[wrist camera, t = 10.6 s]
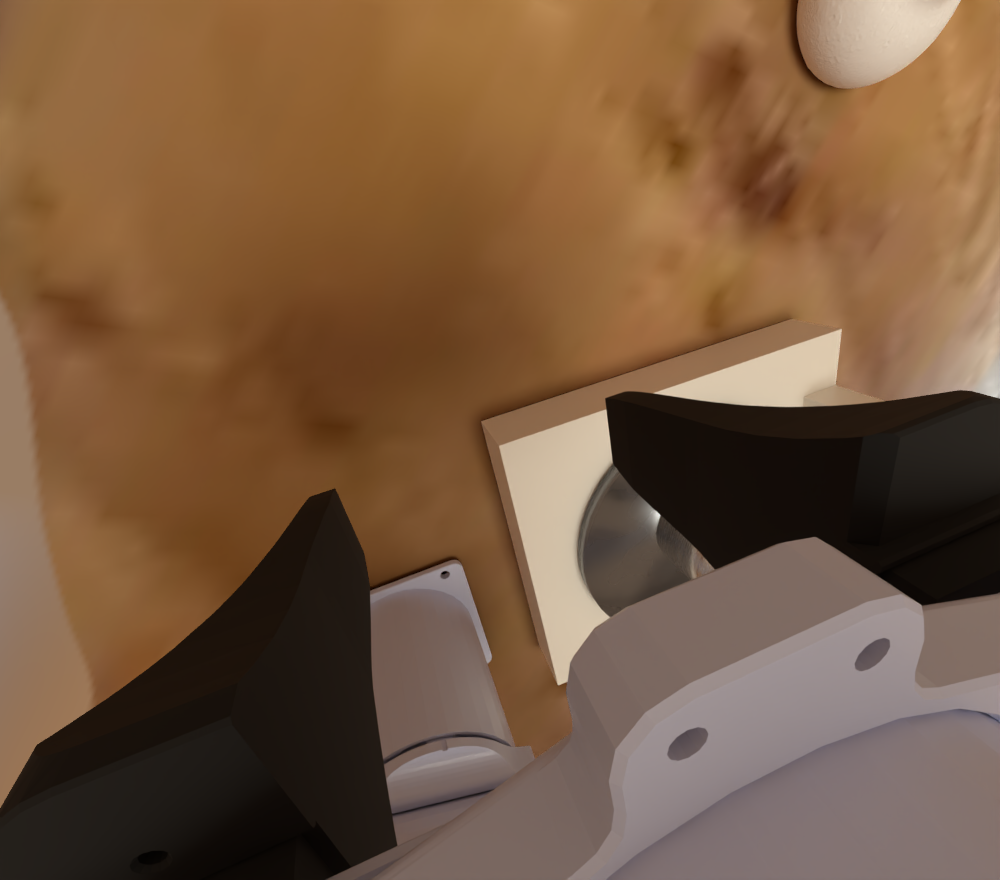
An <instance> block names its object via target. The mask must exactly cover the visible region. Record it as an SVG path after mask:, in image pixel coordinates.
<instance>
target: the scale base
mask: <svg viewBox="0 0 1000 880" xmlns="http://www.w3.org/2000/svg"><path fill="white" fill-rule="evenodd" d="M841 331H842V329H840V328H835V327H830V326H825V325H820V324H815V323H810V322H805V321H800V320H795V319H790V320H787V321H783V322H780V323H777V324H774V325H771V326H768V327H765V328H762V329H759V330H756V331H753V332H750V333H747V334H744V335H741V336H738V337H735V338H732V339H729V340H726V341H723V342H720V343H717V344H714V345H711V346H708V347H705V348H702V349H699V350H696V351H692V352H689V353H686V354H683V355H680V356H677V357H674V358H671V359H668V360H665V361H662V362H659V363H656V364H653V365H650V366H647V367H644V368H641V369H638V370H635V371H632V372H629V373H626V374H623V375H620V376H617V377H614V378H611V379H608V380H605V381H601V382H598V383H595V384H592V385H589V386H586V387H583V388H580V389H577V390H574V391H571V392H568V393H565V394H562V395H559V396H556V397H553V398H550V399H547V400H544V401H541V402H538V403H535V404H532V405H529V406H526V407H523V408H520V409H517V410H514V411H511V412H507V413H504V414H501V415H498V416H495V417H492V418H489V419H486V420H483V421H481V424H482V427H483V431H484V435H485V439H486V443H487V447H488V451H489V454H490V458H491V462H492V466H493V470H494V474H495V478H496V481H497V485H498V489H499V493H500V497H501V501H502V505H503V508H504V512H505V516H506V520H507V524H508V528H509V532H510V535H511V539H512V543H513V547H514V551H515V555H516V559H517V562H518V566H519V570H520V574H521V578H522V582H523V585H524V589H525V593H526V597H527V601H528V605H529V609H530V612H531V616H532V620H533V624H534V628H535V632H536V636H537V639H538V643H539V647H540V649H541V651H542V653H543V655H544V657H545V659H546V661H547V663H548V665H549V668H550V670H551V672H552V674H553V676H554V678H555V680H556V682H557V684H558V685H560V684H563V683H565V682H567V681H568V675H569V667H570V662H571V660H572V658H573V656H574V655H575V654H576V652H577V651H578V650H579V648H580V647H581V645H582V644H583V643H584V641H585V640H586V639H587V637H588V636H589V635H590V633H591V632H592V631H593V629H594V628H595V627H596V626H598V625H600V624H601V623H603V622H604V621H606V620H607V619H609V618H610V617H609V616H608V615H607V614H606V613H605V612H604V611H603V610H602V609H601V608H600V607H599V605H598V604H597V603H596V601H595V600H594V598H593V597H592V596H591V594H590V593H589V591H588V590H587V588H586V586H585V583H584V581H583V579H582V576H581V572H580V568H579V561H578V540H579V535H580V529H581V524H582V521H583V518H584V515H585V512H586V509H587V507H588V505H589V503H590V500H591V498H592V496H593V494H594V492H595V491H596V489H597V487H598V486H599V484H600V482H601V481H602V479H603V478H604V476H605V475H606V474H607V472H608V471H609V470H610V468H611V467H612V466H613V465H614V464H613V461H612V452H611V444H610V436H609V427H608V419H607V411H606V403H605V398H607V397H610V396H613V395H616V394H619V393H622V392H625V391H636V392H646V393H654V394H661V395H667V396H674V397H680V398H687V399H694V400H701V401H709V402H717V403H727V404H736V405H749V406H773V407H811V406H837V405H851V404H863V403H872V402H882V401H884V400H881V399H878V398H875V397H872V396H868V395H865V394H862V393H859V392H856V391H853V390H849V389H846V388H843V387H840V386H837V385H836V377H837V367H838V358H839V349H840V340H841Z"/></svg>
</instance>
